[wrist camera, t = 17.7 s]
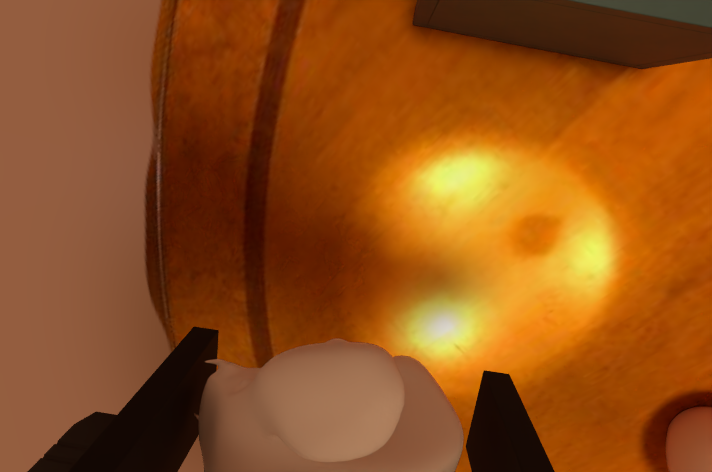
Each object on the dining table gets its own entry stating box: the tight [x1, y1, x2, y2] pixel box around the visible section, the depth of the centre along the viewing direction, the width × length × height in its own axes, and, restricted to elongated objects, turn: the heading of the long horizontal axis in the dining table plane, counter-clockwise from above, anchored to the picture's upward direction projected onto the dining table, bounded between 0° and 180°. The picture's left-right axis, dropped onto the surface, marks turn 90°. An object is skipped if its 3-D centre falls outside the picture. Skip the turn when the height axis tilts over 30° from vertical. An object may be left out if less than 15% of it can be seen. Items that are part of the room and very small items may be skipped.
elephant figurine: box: [194, 339, 463, 472], centre depth 12 cm, size 7×8×6 cm
